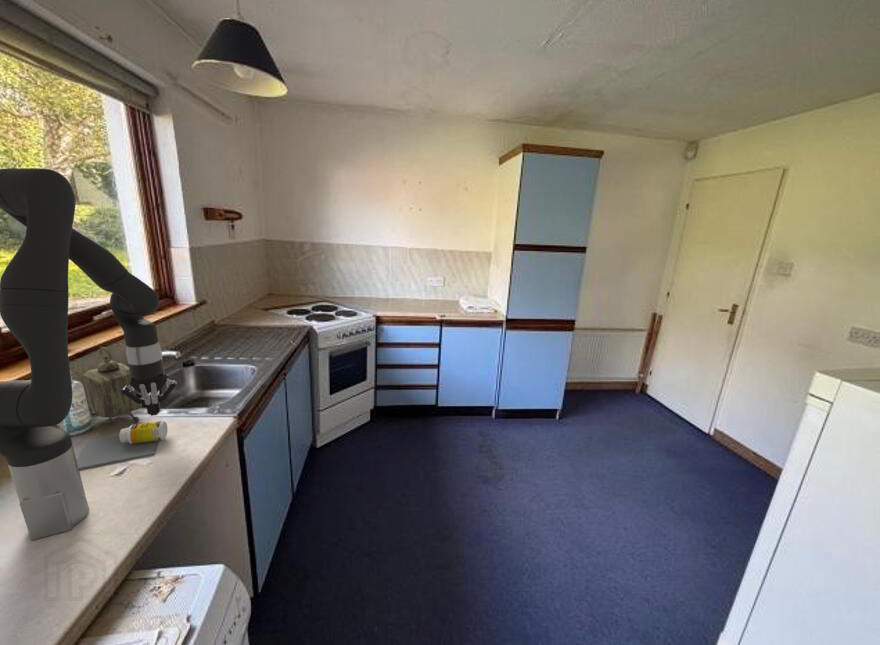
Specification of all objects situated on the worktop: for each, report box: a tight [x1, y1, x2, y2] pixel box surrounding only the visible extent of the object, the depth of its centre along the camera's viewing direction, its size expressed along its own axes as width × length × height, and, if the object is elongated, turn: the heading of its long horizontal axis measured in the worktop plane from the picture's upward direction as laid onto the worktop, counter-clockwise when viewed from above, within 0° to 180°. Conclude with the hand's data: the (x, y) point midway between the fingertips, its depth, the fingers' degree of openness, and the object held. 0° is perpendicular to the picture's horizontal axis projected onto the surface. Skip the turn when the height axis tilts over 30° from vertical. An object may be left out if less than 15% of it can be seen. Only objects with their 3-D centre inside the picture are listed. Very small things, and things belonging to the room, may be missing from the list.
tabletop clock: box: [81, 346, 143, 425], centre depth 114 cm, size 14×9×25 cm, turn 61°
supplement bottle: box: [119, 420, 168, 444], centre depth 106 cm, size 6×6×10 cm
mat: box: [76, 434, 160, 471], centre depth 104 cm, size 14×18×1 cm
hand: (154, 414), depth 106 cm, fingers closed
